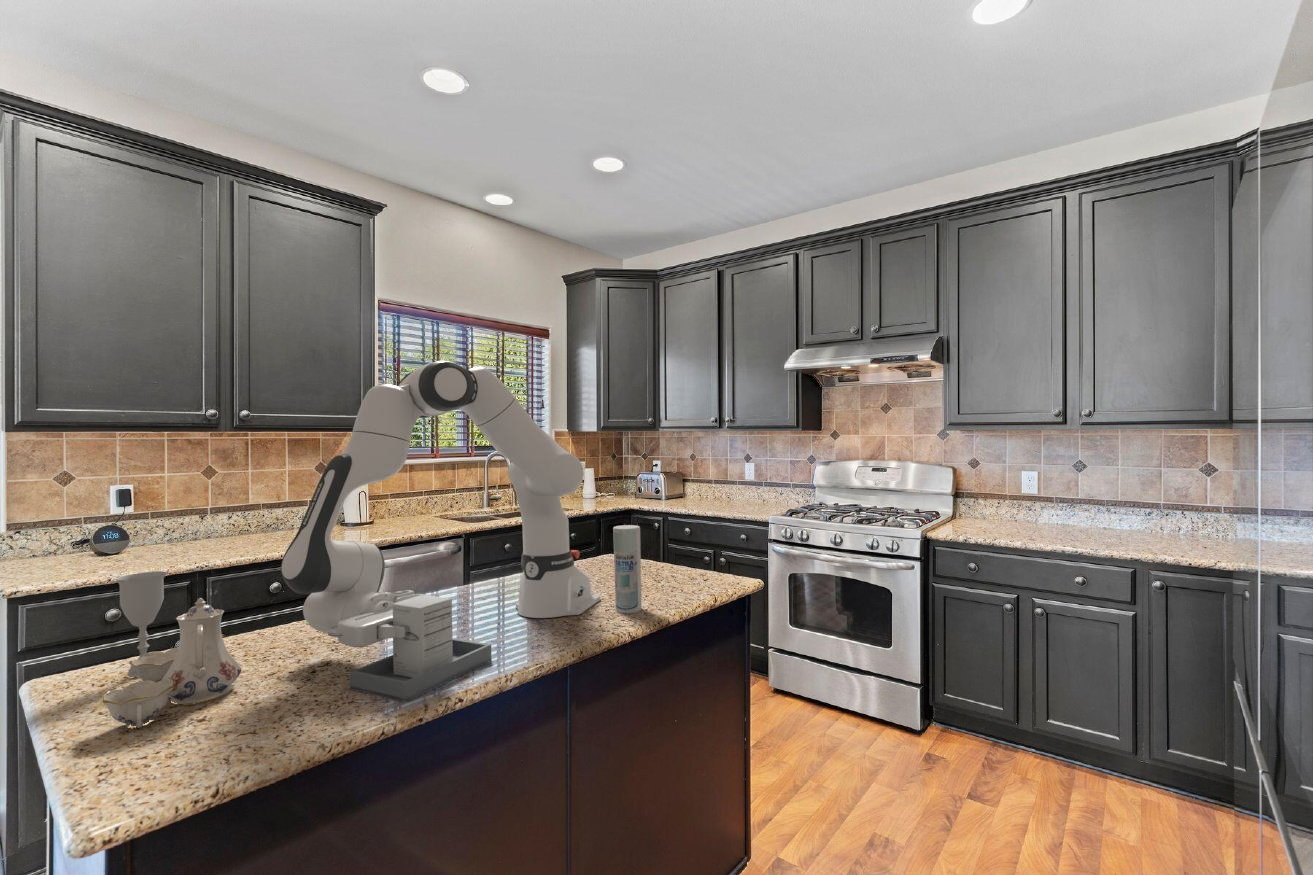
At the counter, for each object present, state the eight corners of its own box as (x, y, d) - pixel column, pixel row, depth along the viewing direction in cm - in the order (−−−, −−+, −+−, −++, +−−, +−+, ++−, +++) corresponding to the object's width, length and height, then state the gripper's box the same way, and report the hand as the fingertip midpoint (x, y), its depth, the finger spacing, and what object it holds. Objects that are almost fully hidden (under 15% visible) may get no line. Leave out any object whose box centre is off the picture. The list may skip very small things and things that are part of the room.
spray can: (611, 612, 145) (609, 528, 145) (619, 605, 152) (617, 524, 152) (638, 613, 144) (635, 528, 144) (645, 606, 150) (643, 525, 150)
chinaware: (129, 693, 108) (114, 601, 107) (241, 661, 118) (229, 577, 117) (103, 758, 85) (83, 642, 84) (245, 712, 95) (230, 608, 94)
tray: (440, 651, 121) (440, 636, 121) (491, 660, 115) (491, 644, 115) (350, 689, 103) (350, 671, 103) (405, 702, 97) (405, 683, 97)
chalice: (166, 662, 118) (164, 569, 118) (171, 671, 113) (169, 574, 113) (116, 673, 113) (114, 576, 113) (118, 683, 108) (116, 581, 108)
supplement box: (392, 675, 107) (390, 603, 107) (425, 661, 114) (424, 593, 114) (421, 681, 104) (420, 607, 104) (454, 667, 110) (453, 597, 111)
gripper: (320, 614, 105) (376, 623, 99) (415, 587, 124) (467, 593, 118) (321, 651, 105) (377, 662, 99) (416, 619, 124) (467, 626, 118)
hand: (426, 624), depth 109 cm, fingers open, 8 cm apart
